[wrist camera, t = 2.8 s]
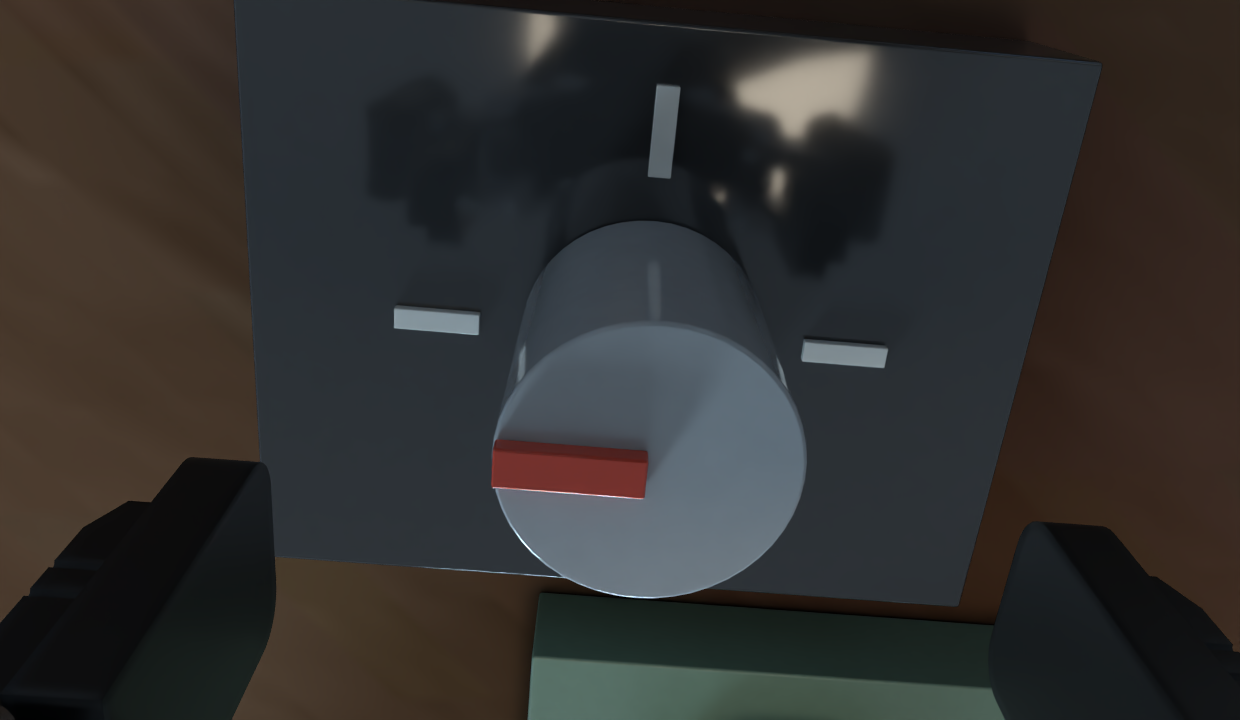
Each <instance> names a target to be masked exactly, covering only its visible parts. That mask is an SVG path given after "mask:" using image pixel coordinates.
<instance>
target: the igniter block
mask: <svg viewBox="0 0 1240 720" xmlns="http://www.w3.org/2000/svg"><path fill="white" fill-rule="evenodd" d="M993 628H994V626H993V625H980V624H966V623H952V622H938V621H925V620H911V619H897V618H884V617H870V616H856V615H842V614H829V613H815V612H801V611H787V610H774V609H760V608H746V607H732V606H719V605H705V604H691V603H677V602H664V601H650V600H636V599H623V598H609V597H595V596H581V595H568V594H554V593H540V595H539V601H538V610H537V618H536V627H535V635H534V643H533V652H532V663H531V677H530V692H529V707H528V720H1005V718H1004V716H1003V714H1002V712H1001V710H1000V708H999V706H998V704H997V702H996V700H995V698H994V695H993V692H992V688H991V684H990V678H989V668H988V653H989V644H990V639H991V635H992V631H993Z"/></svg>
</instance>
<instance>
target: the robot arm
mask: <svg viewBox="0 0 1240 720" xmlns="http://www.w3.org/2000/svg"><path fill="white" fill-rule="evenodd" d="M275 603H276V572H275V553H274V533H273V514H272V494H271V480H270V474H269V471H268V468H267V466H266V465H265V464H264V463H262V462H251V461H238V460H224V459H211V458H197V457H190V458H187V459H186V460H185V461H184V462H183V463H182V464H181V465H180V466H179V468H178V469H177V470H176V471H175V473H174V474H173V475H172V477H171V478H170V479H169V480H168V482H167V483H166V484H165V485H164V487H163V488H162V489H161V490H160V492H159V493H158V494H157V496H156V497H155V498H154V499H153V501H152V502H138V501H128V502H126V503H124V504H122V505H121V506H119V507H117V508H116V509H114V510H112V511H111V512H109V513H107V514H105V515H104V516H102V517H100V518H99V519H97V520H95V521H93V522H92V523H90V524H88V525H87V526H85V527H83V528H82V530H81V531H80V532H79V533H78V534H77V535H76V536H75V538H74V539H73V540H72V541H71V542H70V543H69V544H68V546H67V547H66V548H65V549H64V550H63V551H62V553H61V554H60V555H59V556H58V557H57V558H56V559H55V563H54V567H53V568H51V567H48V569H47V570H46V571H45V572H44V573H43V574H42V576H41V577H40V578H39V579H38V580H37V581H36V582H35V584H34V585H33V586H32V587H31V588H30V594H29V596H23V597H22V599H21V600H20V601H19V602H18V603H17V604H16V605H15V607H14V608H13V609H12V610H11V611H10V612H9V614H8V615H7V616H6V617H5V618H4V619H3V620H2V622H1V623H0V720H232V717H233V715H234V713H235V711H236V709H237V707H238V705H239V703H240V701H241V698H242V696H243V694H244V692H245V690H246V688H247V686H248V684H249V682H250V680H251V677H252V675H253V673H254V671H255V669H256V667H257V665H258V663H259V661H260V658H261V656H262V654H263V652H264V650H265V648H266V645H267V642H268V639H269V636H270V632H271V628H272V624H273V618H274V612H275ZM1232 646H1233V644H1232V643H1231V642H1230V641H1229V640H1228V639H1227V637H1226V636H1225V635H1224V634H1223V633H1222V632H1221V630H1220V629H1219V628H1218V627H1217V626H1216V625H1215V623H1214V622H1213V621H1212V620H1211V619H1210V618H1209V616H1208V615H1207V614H1206V613H1205V612H1204V611H1203V609H1202V608H1200V607H1199V606H1197V605H1196V604H1194V603H1193V602H1192V601H1190V600H1189V599H1187V598H1186V597H1184V596H1183V595H1182V594H1180V593H1179V592H1177V591H1176V590H1175V589H1173V588H1172V587H1170V586H1169V585H1167V584H1166V583H1165V582H1163V581H1162V580H1160V579H1159V578H1157V577H1152V576H1149V575H1148V574H1147V573H1146V572H1145V571H1144V569H1143V568H1142V567H1141V566H1140V564H1139V563H1138V562H1137V561H1136V560H1135V558H1134V557H1133V556H1132V555H1131V553H1130V552H1129V551H1128V550H1127V549H1126V547H1125V546H1124V545H1123V544H1122V542H1121V541H1120V540H1119V539H1118V538H1117V536H1116V535H1115V534H1114V533H1113V532H1112V531H1111V530H1110V529H1108V528H1106V527H1103V526H1092V525H1079V524H1065V523H1052V522H1038V521H1036V522H1032V523H1030V524H1028V525H1027V526H1026V527H1025V529H1024V530H1023V532H1022V534H1021V536H1020V538H1019V541H1018V544H1017V548H1016V551H1015V555H1014V558H1013V562H1012V565H1011V569H1010V572H1009V575H1008V579H1007V582H1006V586H1005V589H1004V593H1003V596H1002V600H1001V603H1000V607H999V610H998V614H997V617H996V621H995V624H994V628H993V631H992V635H991V639H990V644H989V653H988V668H989V678H990V684H991V688H992V692H993V695H994V698H995V700H996V702H997V704H998V706H999V708H1000V710H1001V712H1002V714H1003V716H1004V718H1005V720H1240V653H1239V652H1233V649H1232Z"/></svg>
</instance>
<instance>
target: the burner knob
mask: <svg viewBox="0 0 1240 720" xmlns="http://www.w3.org/2000/svg"><path fill="white" fill-rule="evenodd" d="M806 470H807V442H806V437H805V431H804V426H803V423H802V420H801V417H800V414H799V411H798V409H797V406H796V403H795V400H794V398H793V395H792V392H791V389H790V387H789V384H788V381H787V378H786V376H785V373H784V370H783V367H782V365H781V362H780V359H779V357H778V354H777V351H776V348H775V346H774V343H773V340H772V337H771V335H770V332H769V329H768V326H767V324H766V321H765V318H764V315H763V313H762V310H761V307H760V304H759V302H758V299H757V296H756V293H755V291H754V288H753V287H752V285H751V283H750V281H749V279H748V277H747V275H746V274H745V273H744V271H743V270H742V268H741V267H740V266H739V264H738V263H737V262H736V261H735V260H734V259H733V258H732V257H731V256H730V255H729V254H728V253H727V252H726V251H725V250H724V249H722V248H721V247H720V246H719V245H717V244H716V243H715V242H713V241H712V240H710V239H708V238H707V237H705V236H703V235H702V234H699V233H697V232H695V231H692V230H690V229H688V228H685V227H681V226H678V225H674V224H671V223H664V222H658V221H630V222H621V223H617V224H613V225H608V226H605V227H602V228H599V229H597V230H594V231H591V232H589V233H587V234H585V235H584V236H582V237H580V238H578V239H576V240H575V241H573V242H572V243H570V244H569V245H568V246H566V247H565V248H563V249H562V250H561V251H560V252H559V253H558V254H557V255H556V256H555V257H554V258H553V259H552V260H551V261H550V262H549V263H548V264H547V266H546V267H545V268H544V269H543V271H542V272H541V274H540V275H539V277H538V279H537V280H536V282H535V283H534V285H533V288H532V290H531V292H530V294H529V297H528V299H527V303H526V307H525V310H524V314H523V318H522V322H521V326H520V331H519V335H518V339H517V343H516V347H515V351H514V355H513V359H512V364H511V368H510V372H509V376H508V380H507V384H506V388H505V392H504V396H503V401H502V405H501V409H500V413H499V417H498V421H497V425H496V429H495V434H494V439H493V447H492V475H491V486H492V487H493V488H495V491H496V494H497V497H498V500H499V503H500V506H501V509H502V511H503V513H504V515H505V517H506V519H507V521H508V523H509V524H510V526H511V527H512V529H513V530H514V532H515V533H516V535H517V536H518V538H519V539H520V540H521V541H522V543H523V544H524V545H525V546H526V547H527V548H528V549H529V550H530V551H531V553H532V554H534V555H535V556H536V557H537V558H538V559H539V560H541V561H542V562H543V563H544V564H545V565H546V566H548V567H549V568H551V569H552V570H554V571H555V572H557V573H558V574H560V575H561V576H563V577H565V578H567V579H569V580H571V581H573V582H575V583H577V584H579V585H582V586H585V587H587V588H590V589H593V590H596V591H599V592H603V593H607V594H612V595H616V596H624V597H631V598H663V597H674V596H679V595H684V594H689V593H693V592H696V591H699V590H703V589H706V588H709V587H712V586H714V585H716V584H718V583H721V582H723V581H725V580H727V579H729V578H731V577H733V576H734V575H736V574H738V573H739V572H741V571H743V570H744V569H746V568H747V567H748V566H750V565H751V564H752V563H753V562H755V561H756V560H757V559H759V558H760V557H761V556H762V555H763V554H764V553H765V552H766V551H767V550H768V549H769V548H770V547H771V546H772V545H773V544H774V543H775V541H776V540H777V539H778V537H779V536H780V535H781V534H782V532H783V531H784V530H785V528H786V526H787V525H788V523H789V521H790V519H791V518H792V516H793V514H794V512H795V510H796V507H797V505H798V503H799V500H800V498H801V495H802V491H803V487H804V483H805V479H806Z"/></svg>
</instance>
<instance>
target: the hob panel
mask: <svg viewBox="0 0 1240 720" xmlns="http://www.w3.org/2000/svg"><path fill="white" fill-rule="evenodd" d="M234 15H235V33H236V50H237V68H238V85H239V103H240V120H241V138H242V155H243V172H244V190H245V207H246V225H247V242H248V260H249V277H250V295H251V312H252V330H253V347H254V365H255V382H256V400H257V417H258V435H259V452H260V462H262V463H264V464H265V465H266V466H267V468H268V471H269V474H270V480H271V494H272V514H273V533H274V553H275V557H284V558H297V559H311V560H325V561H338V562H352V563H366V564H379V565H393V566H406V567H420V568H434V569H447V570H461V571H475V572H488V573H502V574H515V575H529V576H543V577H556V578H565V577H563V576H561V575H560V574H558V573H557V572H555V571H554V570H552V569H551V568H549V567H548V566H546V565H545V564H544V563H543V562H542V561H541V560H539V559H538V558H537V557H536V556H535V555H534V554H532V553H531V551H530V550H529V549H528V548H527V547H526V546H525V545H524V544H523V543H522V541H521V540H520V539H519V538H518V536H517V535H516V533H515V532H514V530H513V529H512V527H511V526H510V524H509V523H508V521H507V519H506V517H505V515H504V513H503V511H502V509H501V506H500V503H499V500H498V497H497V494H496V491H495V488H493V487H492V486H491V475H492V447H493V439H494V434H495V429H496V425H497V421H498V417H499V413H500V409H501V405H502V401H503V396H504V392H505V388H506V384H507V380H508V376H509V372H510V368H511V364H512V359H513V355H514V351H515V347H516V343H517V339H518V335H519V331H520V326H521V322H522V318H523V314H524V310H525V307H526V303H527V299H528V297H529V294H530V292H531V290H532V288H533V285H534V283H535V282H536V280H537V279H538V277H539V275H540V274H541V272H542V271H543V269H544V268H545V267H546V266H547V264H548V263H549V262H550V261H551V260H552V259H553V258H554V257H555V256H556V255H557V254H558V253H559V252H560V251H561V250H562V249H563V248H565V247H566V246H568V245H569V244H570V243H572V242H573V241H575V240H576V239H578V238H580V237H582V236H584V235H585V234H587V233H589V232H591V231H594V230H597V229H599V228H602V227H605V226H608V225H613V224H617V223H621V222H630V221H658V222H664V223H671V224H674V225H678V226H681V227H685V228H688V229H690V230H692V231H695V232H697V233H699V234H702V235H703V236H705V237H707V238H708V239H710V240H712V241H713V242H715V243H716V244H717V245H719V246H720V247H721V248H722V249H724V250H725V251H726V252H727V253H728V254H729V255H730V256H731V257H732V258H733V259H734V260H735V261H736V262H737V263H738V264H739V266H740V267H741V268H742V270H743V271H744V273H745V274H746V275H747V277H748V279H749V281H750V283H751V285H752V287H753V288H754V291H755V293H756V296H757V299H758V302H759V304H760V307H761V310H762V313H763V315H764V318H765V321H766V324H767V326H768V329H769V332H770V335H771V337H772V340H773V343H774V346H775V348H776V351H777V354H778V357H779V359H780V362H781V365H782V367H783V370H784V373H785V376H786V378H787V381H788V384H789V387H790V389H791V392H792V395H793V398H794V400H795V403H796V406H797V409H798V411H799V414H800V417H801V420H802V423H803V426H804V431H805V437H806V442H807V470H806V479H805V483H804V487H803V491H802V495H801V498H800V500H799V503H798V505H797V507H796V510H795V512H794V514H793V516H792V518H791V519H790V521H789V523H788V525H787V526H786V528H785V530H784V531H783V532H782V534H781V535H780V536H779V537H778V539H777V540H776V541H775V543H774V544H773V545H772V546H771V547H770V548H769V549H768V550H767V551H766V552H765V553H764V554H763V555H762V556H761V557H760V558H759V559H757V560H756V561H755V562H753V563H752V564H751V565H750V566H748V567H747V568H746V569H744V570H743V571H741V572H739V573H738V574H736V575H734V576H733V577H731V578H729V579H727V580H725V581H723V582H721V583H718V584H716V585H714V586H712V587H709V588H706V589H720V590H734V591H747V592H761V593H775V594H788V595H802V596H815V597H829V598H843V599H856V600H870V601H884V602H897V603H911V604H924V605H938V606H952V607H957V606H959V603H960V600H961V596H962V592H963V588H964V585H965V581H966V577H967V573H968V570H969V566H970V562H971V558H972V555H973V551H974V547H975V543H976V539H977V536H978V532H979V528H980V524H981V521H982V517H983V513H984V509H985V506H986V502H987V498H988V494H989V491H990V487H991V483H992V479H993V476H994V472H995V468H996V464H997V461H998V457H999V453H1000V449H1001V446H1002V442H1003V438H1004V434H1005V431H1006V427H1007V423H1008V419H1009V416H1010V412H1011V408H1012V404H1013V401H1014V397H1015V393H1016V389H1017V385H1018V382H1019V378H1020V374H1021V370H1022V367H1023V363H1024V359H1025V355H1026V352H1027V348H1028V344H1029V340H1030V337H1031V333H1032V329H1033V325H1034V322H1035V318H1036V314H1037V310H1038V307H1039V303H1040V299H1041V295H1042V292H1043V288H1044V284H1045V280H1046V277H1047V273H1048V269H1049V265H1050V262H1051V258H1052V254H1053V250H1054V247H1055V243H1056V239H1057V235H1058V231H1059V228H1060V224H1061V220H1062V216H1063V213H1064V209H1065V205H1066V201H1067V198H1068V194H1069V190H1070V186H1071V183H1072V179H1073V175H1074V171H1075V168H1076V164H1077V160H1078V156H1079V153H1080V149H1081V145H1082V141H1083V138H1084V134H1085V130H1086V126H1087V123H1088V119H1089V115H1090V111H1091V108H1092V104H1093V100H1094V96H1095V92H1096V89H1097V85H1098V81H1099V77H1100V74H1101V70H1102V63H1101V62H1099V61H1096V60H1092V59H1089V58H1085V57H1082V56H1079V55H1075V54H1072V53H1069V52H1065V51H1062V50H1058V49H1055V48H1052V47H1048V46H1045V45H1041V44H1038V43H1035V42H1031V41H1025V40H1014V39H1004V38H993V37H982V36H972V35H961V34H950V33H939V32H929V31H918V30H907V29H897V28H886V27H875V26H865V25H854V24H843V23H833V22H822V21H811V20H800V19H790V18H779V17H768V16H758V15H747V14H736V13H726V12H715V11H704V10H694V9H683V8H672V7H661V6H651V5H640V4H629V3H619V2H608V1H597V0H234Z"/></svg>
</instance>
